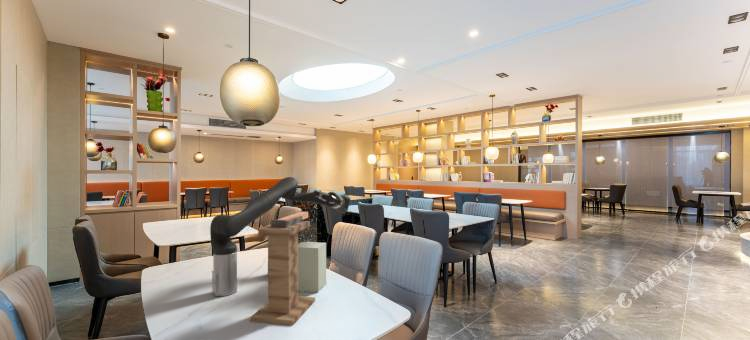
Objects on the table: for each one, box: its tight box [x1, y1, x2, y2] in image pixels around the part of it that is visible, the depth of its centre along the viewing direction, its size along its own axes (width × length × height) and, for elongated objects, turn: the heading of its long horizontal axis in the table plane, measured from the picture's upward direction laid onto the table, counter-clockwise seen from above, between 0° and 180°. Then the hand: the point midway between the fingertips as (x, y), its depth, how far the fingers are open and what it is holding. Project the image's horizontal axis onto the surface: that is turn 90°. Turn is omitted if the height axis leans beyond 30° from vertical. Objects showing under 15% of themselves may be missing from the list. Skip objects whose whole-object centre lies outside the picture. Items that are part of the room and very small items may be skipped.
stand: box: [249, 216, 316, 326], centre depth 120 cm, size 20×16×34 cm
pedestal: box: [298, 241, 327, 293], centre depth 143 cm, size 10×12×19 cm
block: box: [276, 211, 309, 221], centre depth 127 cm, size 22×3×2 cm, turn 169°
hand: (322, 195), depth 149 cm, fingers open, 8 cm apart
